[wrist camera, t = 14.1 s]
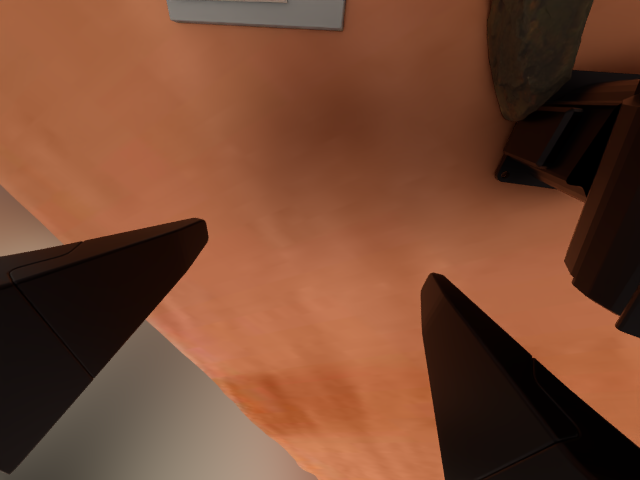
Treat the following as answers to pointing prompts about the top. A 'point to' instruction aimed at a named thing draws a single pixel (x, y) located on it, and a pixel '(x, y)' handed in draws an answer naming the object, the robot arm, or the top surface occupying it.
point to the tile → (278, 0)
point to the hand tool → (533, 50)
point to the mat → (261, 13)
